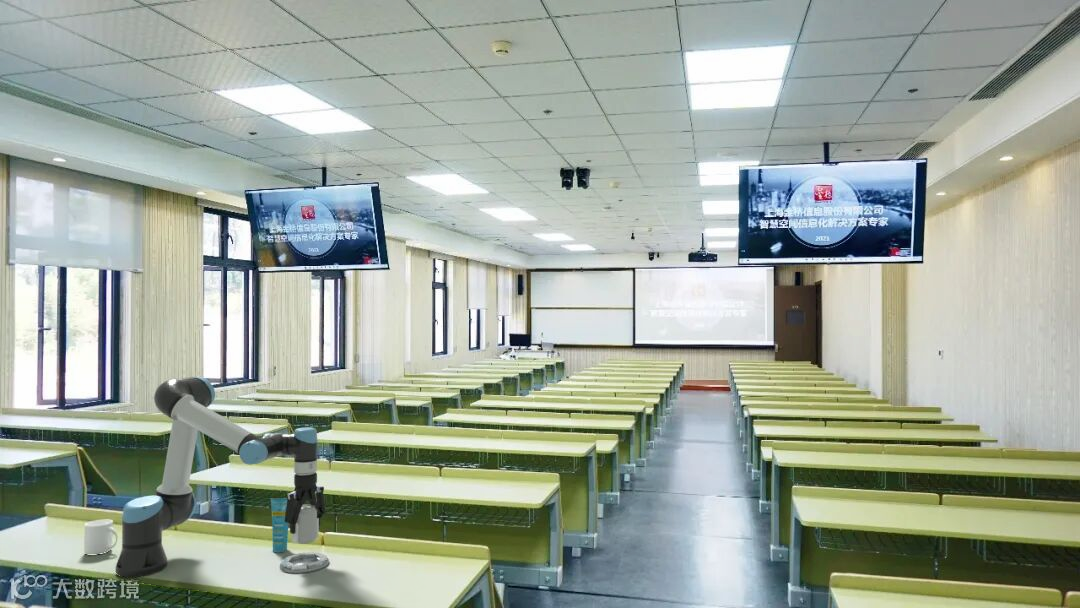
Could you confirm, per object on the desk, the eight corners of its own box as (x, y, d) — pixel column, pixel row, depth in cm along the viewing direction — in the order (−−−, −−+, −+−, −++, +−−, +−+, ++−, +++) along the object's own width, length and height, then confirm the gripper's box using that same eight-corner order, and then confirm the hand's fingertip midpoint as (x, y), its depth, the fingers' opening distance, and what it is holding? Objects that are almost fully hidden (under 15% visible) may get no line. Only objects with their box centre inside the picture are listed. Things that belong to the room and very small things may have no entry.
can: (298, 546, 227) (298, 510, 228) (290, 540, 233) (291, 505, 234) (320, 541, 232) (320, 506, 232) (312, 536, 238) (312, 502, 238)
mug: (107, 557, 240) (107, 527, 240) (78, 555, 242) (78, 525, 242) (125, 549, 248) (126, 520, 248) (97, 547, 250) (98, 518, 251)
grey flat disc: (273, 574, 224) (273, 568, 224) (287, 557, 240) (287, 552, 240) (322, 572, 225) (322, 566, 225) (333, 556, 241) (333, 550, 241)
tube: (267, 553, 244) (268, 500, 245) (271, 548, 249) (272, 496, 250) (289, 552, 246) (289, 499, 246) (292, 547, 250) (292, 496, 251)
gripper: (286, 479, 223) (285, 549, 222) (336, 469, 240) (336, 533, 239) (273, 477, 227) (272, 545, 226) (323, 466, 244) (323, 530, 243)
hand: (305, 539), depth 233 cm, fingers closed on can, 7 cm apart
